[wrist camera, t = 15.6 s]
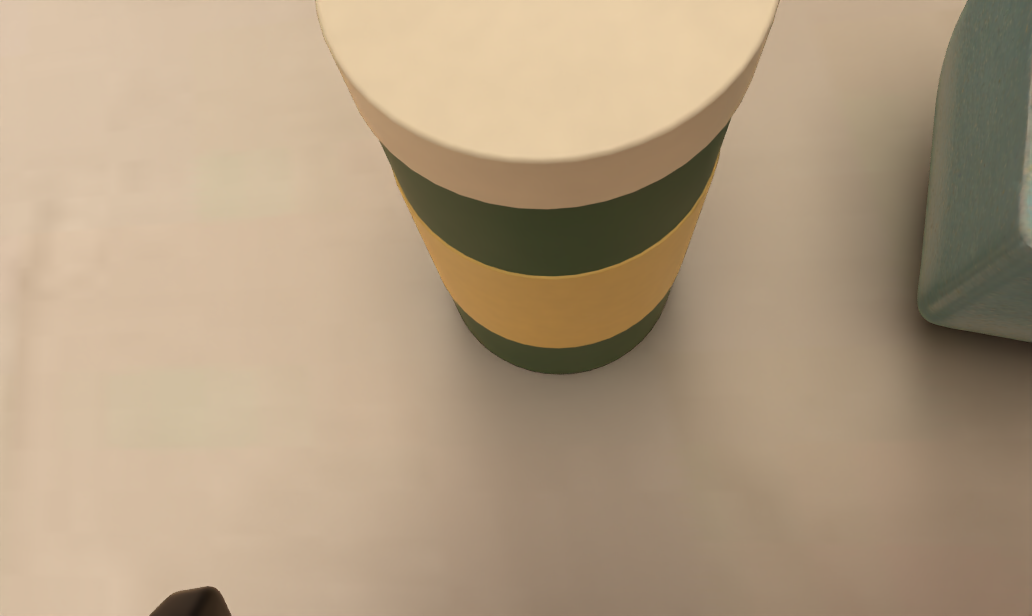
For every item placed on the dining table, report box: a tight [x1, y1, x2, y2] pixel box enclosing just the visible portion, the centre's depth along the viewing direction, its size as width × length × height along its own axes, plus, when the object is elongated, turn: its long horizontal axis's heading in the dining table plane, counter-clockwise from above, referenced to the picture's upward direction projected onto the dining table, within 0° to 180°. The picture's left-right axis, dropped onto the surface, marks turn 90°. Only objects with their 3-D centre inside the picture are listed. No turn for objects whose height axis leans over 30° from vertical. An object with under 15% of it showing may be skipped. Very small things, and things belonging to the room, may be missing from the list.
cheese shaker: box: [315, 0, 780, 374], centre depth 17 cm, size 7×7×12 cm
